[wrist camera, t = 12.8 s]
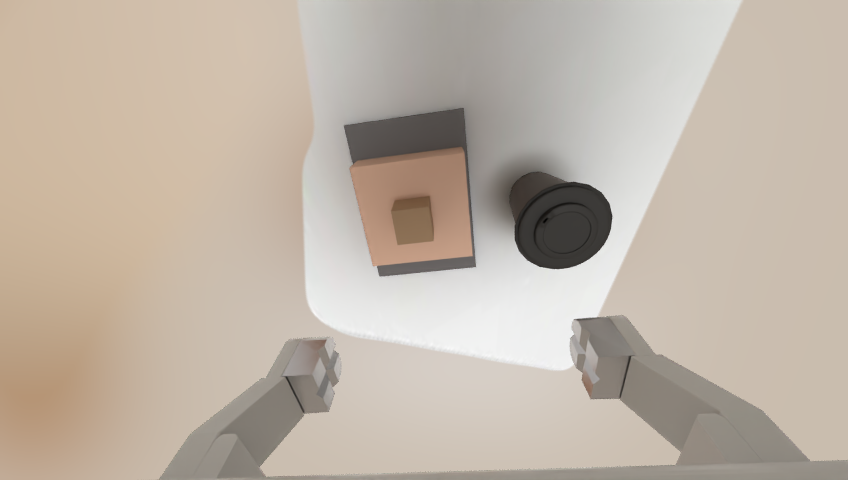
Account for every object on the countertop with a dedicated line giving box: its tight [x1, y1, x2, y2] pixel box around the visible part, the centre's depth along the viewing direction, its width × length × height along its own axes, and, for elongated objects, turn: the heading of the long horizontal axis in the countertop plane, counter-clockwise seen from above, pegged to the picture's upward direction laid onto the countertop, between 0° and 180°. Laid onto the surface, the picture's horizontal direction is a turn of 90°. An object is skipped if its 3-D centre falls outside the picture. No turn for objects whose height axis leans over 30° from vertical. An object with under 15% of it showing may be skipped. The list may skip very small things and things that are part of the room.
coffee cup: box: [510, 172, 612, 269], centre depth 30 cm, size 8×8×10 cm
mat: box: [344, 108, 476, 276], centre depth 35 cm, size 18×12×1 cm, turn 8°
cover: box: [350, 147, 473, 266], centre depth 32 cm, size 11×11×6 cm
